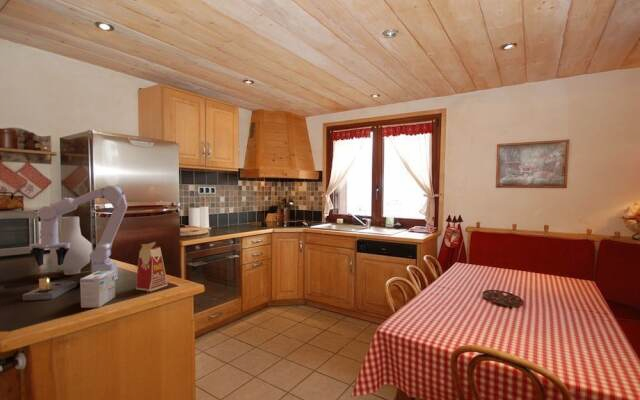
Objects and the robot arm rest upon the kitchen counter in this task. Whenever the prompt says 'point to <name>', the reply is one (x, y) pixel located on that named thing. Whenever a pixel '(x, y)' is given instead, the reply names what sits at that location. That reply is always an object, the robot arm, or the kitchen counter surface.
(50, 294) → the manifold plate
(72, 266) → the vase
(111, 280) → the light bulb box
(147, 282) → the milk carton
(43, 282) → the brass nipple
